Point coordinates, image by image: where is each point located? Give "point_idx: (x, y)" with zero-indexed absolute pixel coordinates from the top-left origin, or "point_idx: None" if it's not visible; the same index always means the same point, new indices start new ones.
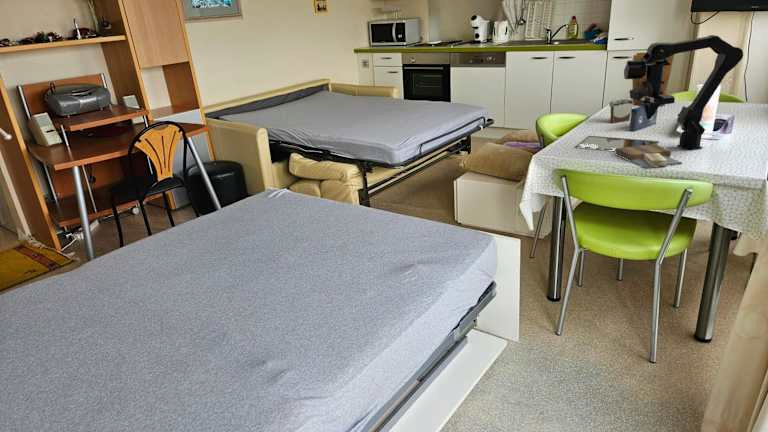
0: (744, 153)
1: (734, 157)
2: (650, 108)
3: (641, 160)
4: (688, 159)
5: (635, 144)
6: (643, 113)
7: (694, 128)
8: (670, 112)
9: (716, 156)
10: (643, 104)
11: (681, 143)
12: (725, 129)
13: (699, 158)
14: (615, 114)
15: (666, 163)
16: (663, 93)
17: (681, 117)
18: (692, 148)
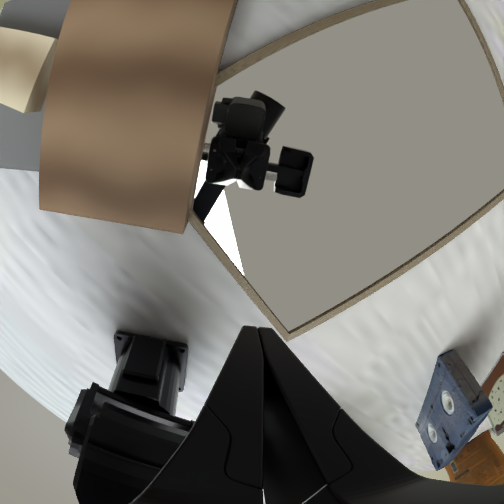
0: (51, 394)
1: (19, 353)
2: (171, 459)
3: (59, 21)
4: (14, 234)
5: (326, 220)
6: (452, 424)
7: (73, 411)
8: (420, 460)
9: (31, 332)
10: (415, 484)
11: (147, 349)
12: None
13: (17, 276)
14: None
15: None
16: (452, 476)
17: (118, 459)
18: (116, 349)
